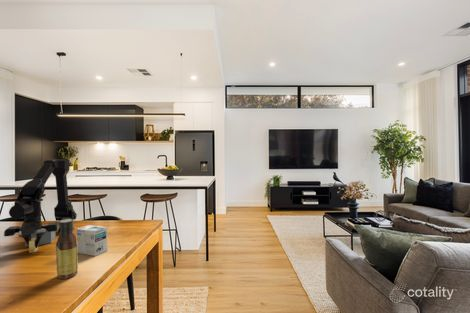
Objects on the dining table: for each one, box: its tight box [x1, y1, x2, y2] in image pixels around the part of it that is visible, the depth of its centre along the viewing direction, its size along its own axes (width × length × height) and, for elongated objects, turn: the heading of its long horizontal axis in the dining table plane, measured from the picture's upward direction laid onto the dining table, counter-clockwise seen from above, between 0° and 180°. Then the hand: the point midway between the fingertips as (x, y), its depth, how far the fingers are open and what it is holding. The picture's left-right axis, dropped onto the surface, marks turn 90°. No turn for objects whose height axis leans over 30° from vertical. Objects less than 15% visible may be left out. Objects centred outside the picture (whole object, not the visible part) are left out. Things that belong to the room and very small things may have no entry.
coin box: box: [24, 224, 57, 247], centre depth 126 cm, size 10×9×7 cm
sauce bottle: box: [55, 219, 79, 280], centre depth 92 cm, size 6×6×20 cm
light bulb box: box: [76, 224, 108, 257], centre depth 113 cm, size 11×7×11 cm, turn 71°
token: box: [28, 237, 39, 254], centre depth 115 cm, size 2×5×5 cm, turn 24°
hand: (33, 248), depth 115 cm, fingers closed on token, 2 cm apart
